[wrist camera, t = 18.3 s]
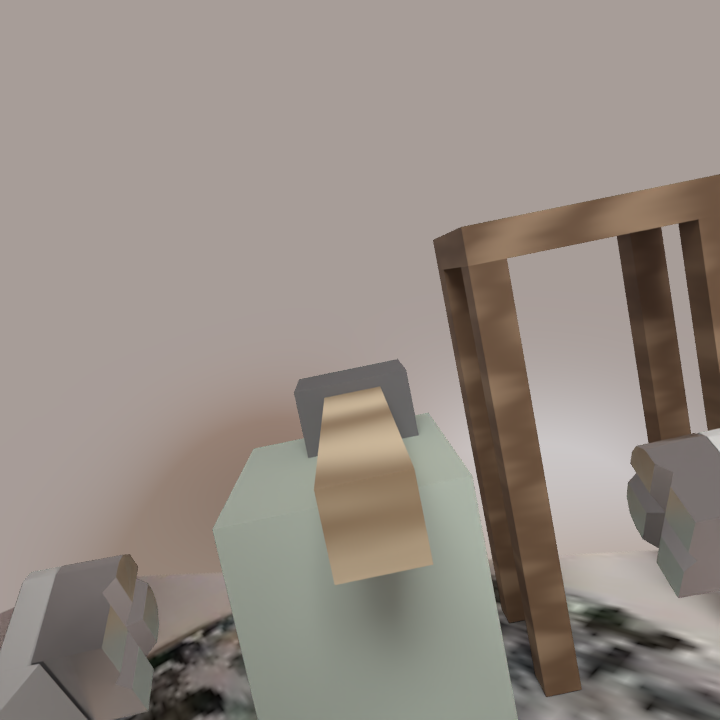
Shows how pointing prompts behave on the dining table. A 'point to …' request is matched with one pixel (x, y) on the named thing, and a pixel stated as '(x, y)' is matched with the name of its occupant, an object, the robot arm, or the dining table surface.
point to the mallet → (364, 470)
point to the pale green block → (362, 600)
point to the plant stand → (510, 383)
